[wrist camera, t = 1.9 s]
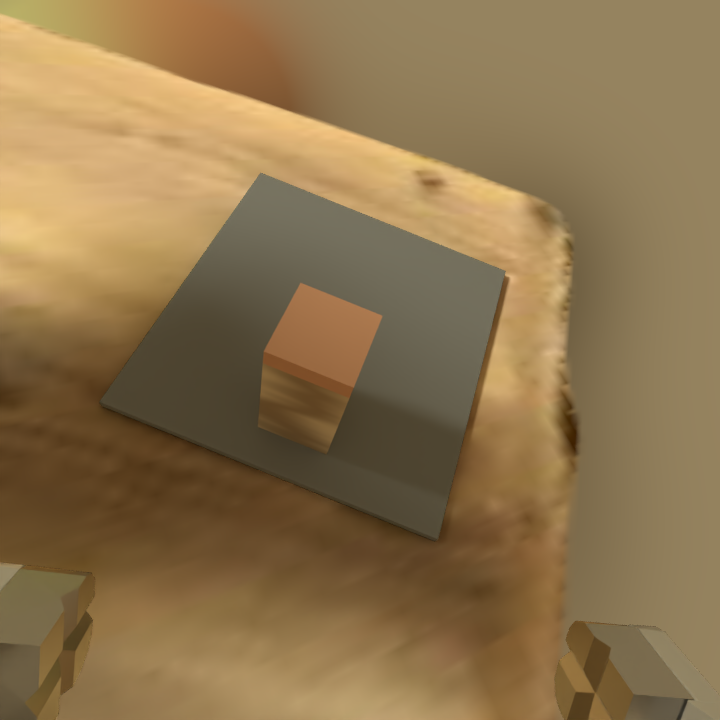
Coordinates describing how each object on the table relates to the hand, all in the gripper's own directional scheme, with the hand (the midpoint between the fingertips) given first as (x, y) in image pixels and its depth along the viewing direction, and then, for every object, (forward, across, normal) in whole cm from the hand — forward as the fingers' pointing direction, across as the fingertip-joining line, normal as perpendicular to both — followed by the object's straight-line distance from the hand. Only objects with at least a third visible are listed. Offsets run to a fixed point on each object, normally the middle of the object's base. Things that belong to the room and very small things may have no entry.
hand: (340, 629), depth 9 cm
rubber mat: (+25, -1, 0) cm, 25 cm away
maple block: (+21, 0, +4) cm, 21 cm away
